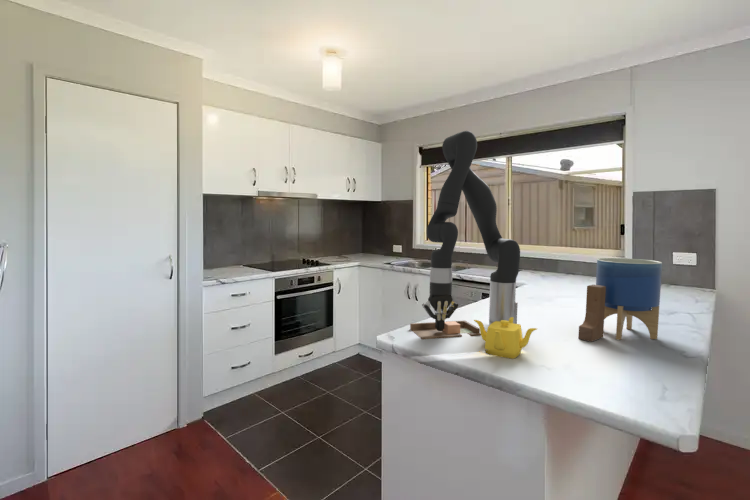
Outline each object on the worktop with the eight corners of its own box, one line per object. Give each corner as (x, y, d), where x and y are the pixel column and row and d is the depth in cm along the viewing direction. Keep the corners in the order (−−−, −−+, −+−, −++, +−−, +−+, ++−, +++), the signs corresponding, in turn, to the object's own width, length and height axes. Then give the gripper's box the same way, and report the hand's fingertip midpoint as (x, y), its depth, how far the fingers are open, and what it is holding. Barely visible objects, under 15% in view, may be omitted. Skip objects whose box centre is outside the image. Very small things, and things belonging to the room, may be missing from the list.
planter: (587, 333, 139) (590, 260, 137) (600, 323, 153) (604, 256, 151) (652, 346, 126) (657, 265, 124) (661, 333, 140) (665, 260, 138)
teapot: (495, 361, 111) (496, 328, 110) (471, 346, 125) (472, 316, 124) (539, 357, 114) (540, 325, 114) (511, 343, 128) (512, 314, 127)
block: (454, 329, 138) (454, 321, 137) (460, 333, 133) (460, 324, 133) (442, 330, 137) (442, 321, 136) (447, 334, 132) (448, 325, 132)
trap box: (464, 329, 143) (464, 320, 143) (480, 339, 131) (481, 329, 131) (410, 333, 138) (410, 323, 138) (422, 343, 126) (422, 333, 126)
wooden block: (591, 342, 129) (594, 288, 128) (577, 338, 133) (580, 286, 131) (603, 337, 135) (606, 286, 133) (590, 334, 138) (592, 284, 137)
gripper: (454, 278, 138) (452, 326, 139) (418, 279, 135) (417, 328, 136) (463, 281, 131) (462, 332, 132) (426, 282, 128) (425, 334, 129)
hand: (439, 330), depth 134 cm, fingers closed
